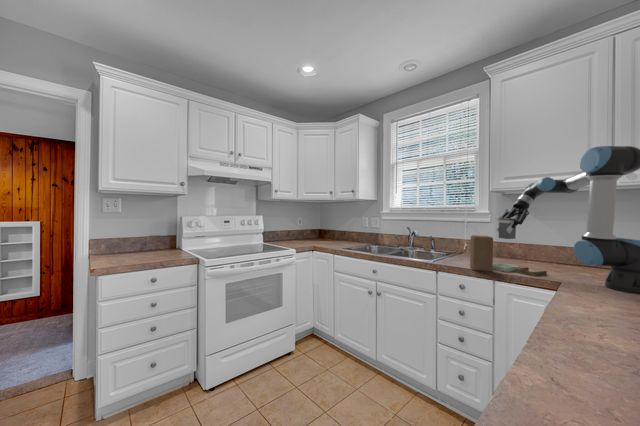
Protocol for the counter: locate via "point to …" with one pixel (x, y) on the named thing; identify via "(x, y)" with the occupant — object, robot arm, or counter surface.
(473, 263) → the wooden block
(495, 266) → the tray
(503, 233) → the caddy
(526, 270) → the cradle
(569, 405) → the counter surface
